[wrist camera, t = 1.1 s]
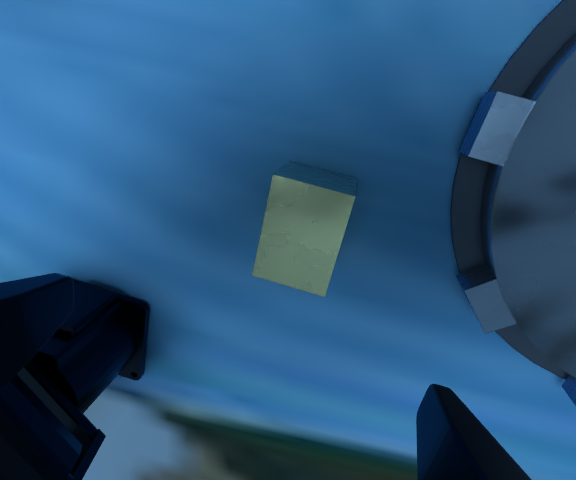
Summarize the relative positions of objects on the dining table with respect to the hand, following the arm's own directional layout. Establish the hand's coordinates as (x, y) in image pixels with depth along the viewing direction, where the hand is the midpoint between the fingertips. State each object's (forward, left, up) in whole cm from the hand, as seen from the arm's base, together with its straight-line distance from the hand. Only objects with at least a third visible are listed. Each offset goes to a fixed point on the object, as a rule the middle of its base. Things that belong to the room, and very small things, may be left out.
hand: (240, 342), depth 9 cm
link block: (0, 0, -12) cm, 12 cm away
